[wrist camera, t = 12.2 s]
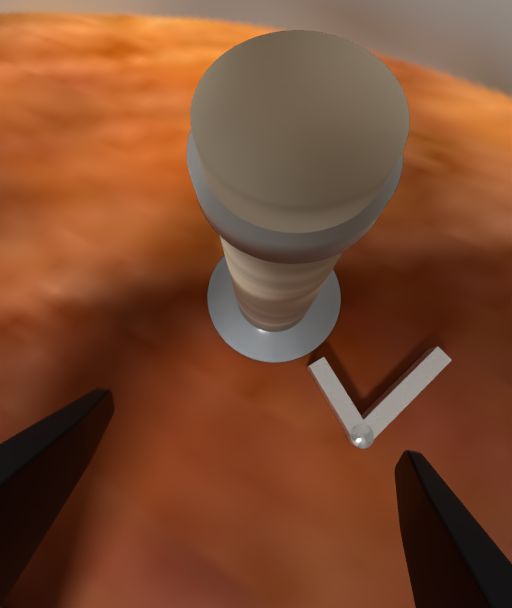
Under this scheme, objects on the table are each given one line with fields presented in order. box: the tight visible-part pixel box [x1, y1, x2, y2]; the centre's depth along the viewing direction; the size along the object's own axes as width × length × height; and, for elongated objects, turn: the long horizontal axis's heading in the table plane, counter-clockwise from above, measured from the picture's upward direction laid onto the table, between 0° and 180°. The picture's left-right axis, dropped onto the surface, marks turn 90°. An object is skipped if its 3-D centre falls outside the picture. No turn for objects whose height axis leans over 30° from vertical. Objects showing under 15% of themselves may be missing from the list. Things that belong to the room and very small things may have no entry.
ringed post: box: [187, 30, 410, 332], centre depth 13 cm, size 5×5×13 cm
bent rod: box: [306, 346, 452, 448], centre depth 18 cm, size 7×5×1 cm
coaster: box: [207, 255, 341, 363], centre depth 19 cm, size 8×8×1 cm
